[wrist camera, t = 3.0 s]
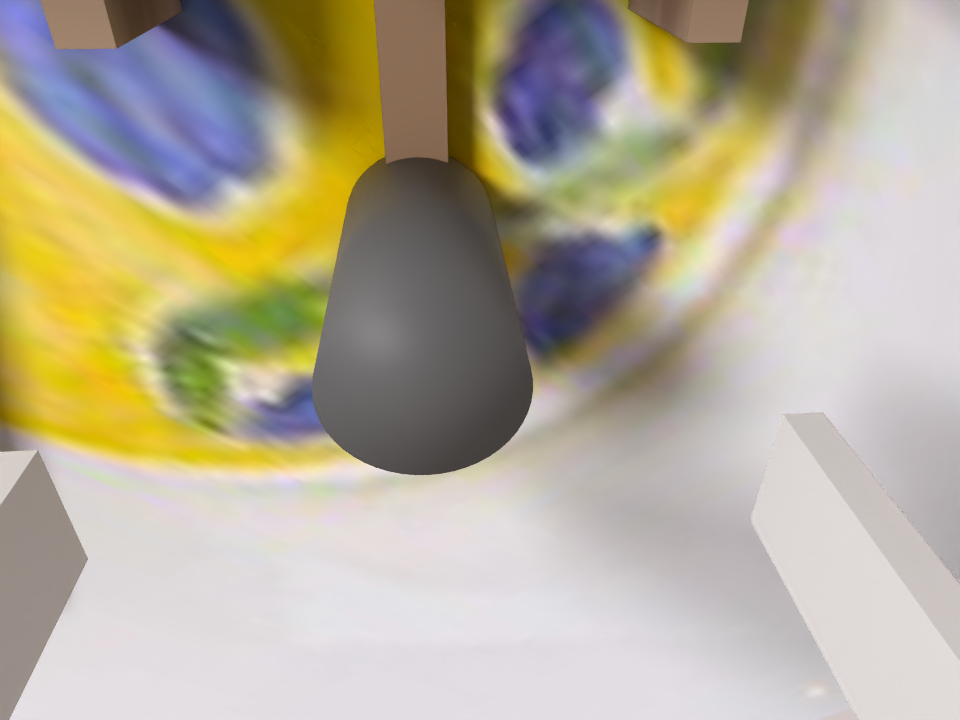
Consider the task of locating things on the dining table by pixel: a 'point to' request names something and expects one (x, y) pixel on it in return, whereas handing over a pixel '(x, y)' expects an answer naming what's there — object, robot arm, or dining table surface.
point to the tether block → (419, 284)
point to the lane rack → (147, 3)
